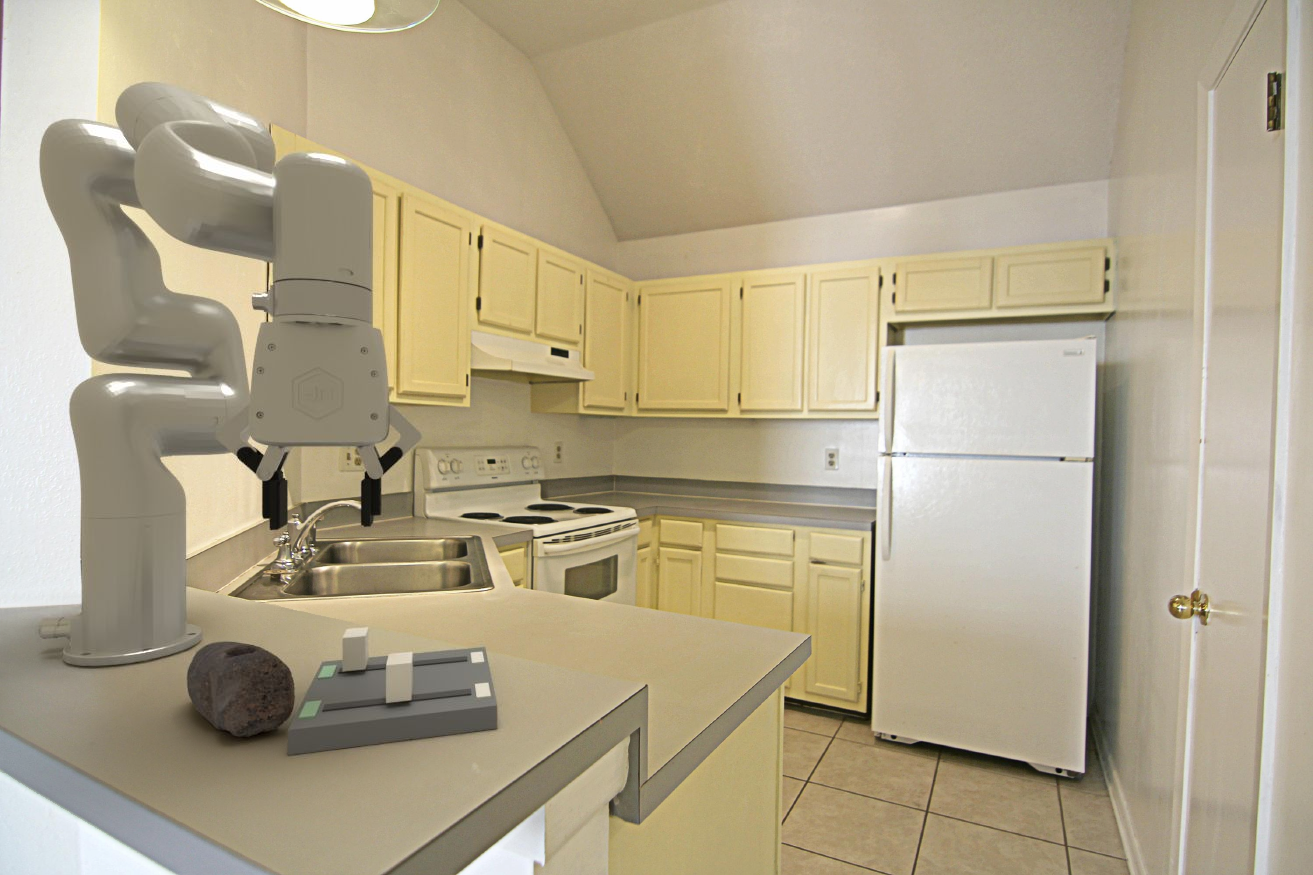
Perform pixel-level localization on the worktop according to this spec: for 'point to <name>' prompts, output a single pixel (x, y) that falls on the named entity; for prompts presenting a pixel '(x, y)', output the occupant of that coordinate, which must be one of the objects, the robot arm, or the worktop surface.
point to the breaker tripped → (399, 677)
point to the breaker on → (355, 649)
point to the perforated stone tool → (240, 687)
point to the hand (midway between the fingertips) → (323, 524)
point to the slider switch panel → (358, 714)
